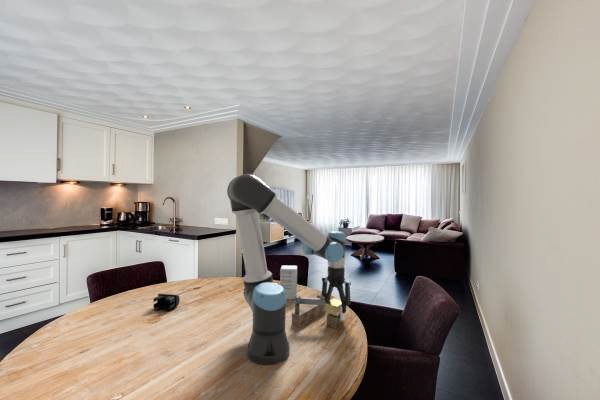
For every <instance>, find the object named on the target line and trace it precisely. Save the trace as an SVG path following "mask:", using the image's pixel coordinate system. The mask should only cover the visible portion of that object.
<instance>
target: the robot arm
mask: <svg viewBox="0 0 600 400" xmlns="http://www.w3.org/2000/svg"><path fill="white" fill-rule="evenodd" d="M226 193H227V197H228V199H229V202H230V209H231V212H232V213H233V214H234V215H235V216H236V219H237V226H238V232H239V238H240V245H241V250H242V257H243V262H244V270H245V275H244V276H243V278H242V281H243V296H244V299H245V301H246V303H247V304H248V306H249V308H250V309H251V312H252V332H251V335H250V338H249V341H248V344H247V347H246V352H247V353H246V356H247V358H248V359H249V361H251V362H253V363H256V364H258V363H259V365H274V364H273V363H275V364H278V362H279V363H280V361H281V362H283V361H285V360H286V359H287V358H288V357H289V356H290V350H291V349H290V342H289V341H288V337H287V333H286V306H287V299H286V293H285V289H284V288H283V287H282V286H281V285H280V283H279V284H278V283H276V282H274V278H273V273H272V272H271V271H270V270H268V267H267V266H268V265H267V260H266V258H267V257H266V252H265V247H264V246H265V245H264V240H263V234H262V227H261V221H260V215H261V214H264V215H265V216H267V217H268V218H269V219H271V220H273V221H274V222H275V223H276V224H278V225H279V226H280V227H281V228H282V229H284V230H286V231H288V233H290V234H291V236H294V237H295V238H297V239H298V240H299V241H301V243H302V245H301V248H302V251H303V253H304V255H306V256H309V255H310V256H312V255H315V256H317V257H320V258H321V259H324V260H327V276H324V277H322V278H321V282H322V283H321V284H322V285H321V287H322V288H321V294H322V296H325V303H327V302H329V301H330V300H331V296H332V293H333V291H334V288H336V289H337V292H338V294H339V295H338V296H339V298H340V299H339V300H341V303H342V305H341V306H340V321H342V320H345V313H347V307H348V306H349V305H351V285H352V283H351V281H348V280H346V277H345V275H346V274H345V272H346V270H345V264H346V262H345V261H346V255H345V254H346V234H345V233H344V232H343V231H337V230H336V231H334V230H332V231H329V232H328V233H327V235H326V234H325V233H323V232H322V231H321V230H320V229H318V228H317V227H316V226H314V225H313V224H312V223H311V222H310V221H308V220H307V219H306V218H305V217H303V216H302V215H301V214H300V213H298V212H297V211H296V210H294V209H293V208H292V207H291V206H290V205H288V204H287V203H286V202H284V200H282V199H281V198H279V197H278V196H277V195H278V193H277V192H276V191H275V190H274V189H272V188H271V187H270V186H269V185H268V184H267V183H265V182H264V181H263V180H262V179H261V178H260V177H258V176H256V175H254V174H253V173H244V174H241V175H238V176H236V177H234V178H232V180H231V181H230V182H229V183H228V185H227V190H226ZM259 214H260V215H259ZM343 285H344V286H343ZM328 315H329V313H326V317H327V316H328ZM288 355H289V356H288ZM284 359H285V360H284Z"/></svg>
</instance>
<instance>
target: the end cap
mask: <svg viewBox="0 0 600 400" xmlns="http://www.w3.org/2000/svg"><path fill="white" fill-rule="evenodd" d="M180 301H181V300H180V295H178V294H170V293H169V294H167V293H158V294H157V296H156V297H154V298H153V305H152V306H153V311H154V312H168V313H170V312H173V311H174V310H176V309H177V307H178V306H179V304H180Z"/></svg>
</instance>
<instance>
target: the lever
mask: <svg viewBox="0 0 600 400" xmlns="http://www.w3.org/2000/svg"><path fill="white" fill-rule="evenodd" d="M293 304H294V305H295V304H300V305H324V306H325V296H320V298H317V297H302V296H301V295H297V296H294V300H293Z"/></svg>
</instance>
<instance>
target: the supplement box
mask: <svg viewBox="0 0 600 400" xmlns="http://www.w3.org/2000/svg"><path fill="white" fill-rule="evenodd" d="M279 272H280V273H279V276H280V277H279V278H280V280H279V281H280V282H279V285H281V286H282V287H283V288H284V289H285V293H286V300H292V299H294V296H298V291H297V290H298V289H297V288H298V265H287V264H286V265H281V267H280V271H279Z"/></svg>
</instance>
